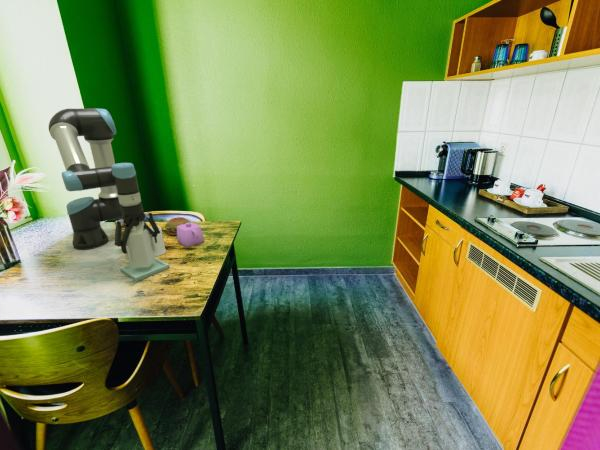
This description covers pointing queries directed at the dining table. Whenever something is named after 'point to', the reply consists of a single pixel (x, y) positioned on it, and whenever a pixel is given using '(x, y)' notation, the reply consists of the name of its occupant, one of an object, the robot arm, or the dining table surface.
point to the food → (175, 225)
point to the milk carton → (140, 247)
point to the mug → (159, 243)
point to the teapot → (189, 234)
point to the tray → (144, 270)
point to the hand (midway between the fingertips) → (142, 255)
